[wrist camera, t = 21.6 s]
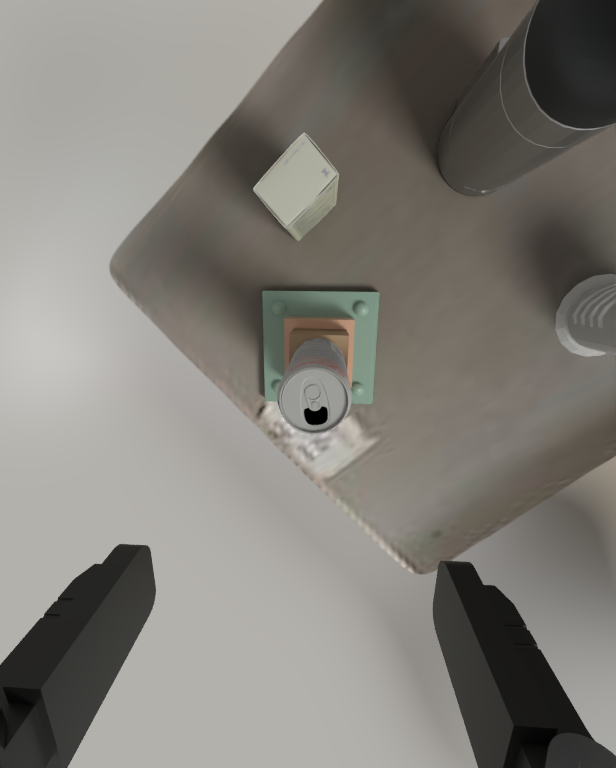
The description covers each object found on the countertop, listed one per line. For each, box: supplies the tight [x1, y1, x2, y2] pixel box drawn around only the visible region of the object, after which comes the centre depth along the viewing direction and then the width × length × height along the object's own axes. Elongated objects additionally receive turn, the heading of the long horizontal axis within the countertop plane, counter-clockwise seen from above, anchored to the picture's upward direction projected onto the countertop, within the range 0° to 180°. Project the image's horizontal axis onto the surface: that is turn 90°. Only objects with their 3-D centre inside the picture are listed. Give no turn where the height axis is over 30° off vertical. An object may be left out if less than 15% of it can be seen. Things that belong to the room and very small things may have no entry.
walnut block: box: [289, 328, 349, 369], centre depth 38 cm, size 6×6×5 cm
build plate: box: [262, 291, 380, 404], centre depth 42 cm, size 14×14×4 cm
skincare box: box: [253, 133, 339, 241], centre depth 34 cm, size 6×4×12 cm
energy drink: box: [277, 338, 352, 434], centre depth 30 cm, size 5×5×12 cm
